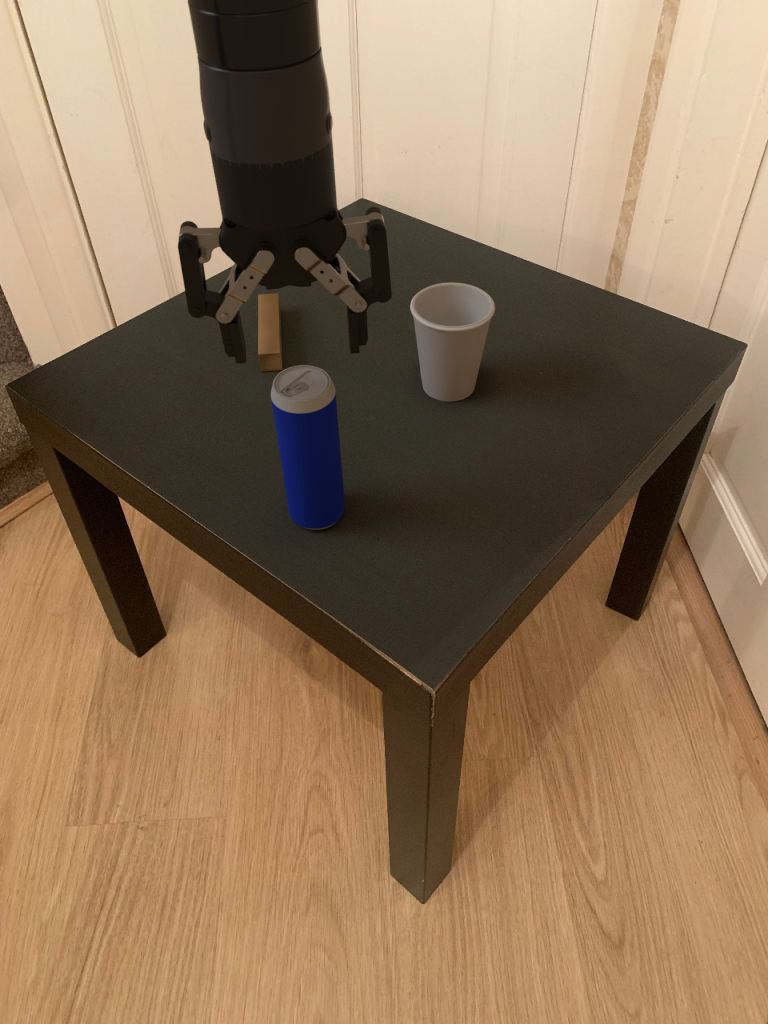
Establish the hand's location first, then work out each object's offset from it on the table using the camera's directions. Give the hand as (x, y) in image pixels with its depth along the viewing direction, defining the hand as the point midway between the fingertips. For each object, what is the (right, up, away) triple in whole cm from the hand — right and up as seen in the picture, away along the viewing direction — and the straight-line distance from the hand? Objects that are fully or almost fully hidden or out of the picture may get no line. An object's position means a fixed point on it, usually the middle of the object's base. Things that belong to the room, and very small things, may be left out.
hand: (297, 352), depth 60 cm
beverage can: (0, -12, +13) cm, 18 cm away
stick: (-7, +8, +32) cm, 33 cm away
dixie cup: (+14, +1, +26) cm, 29 cm away
